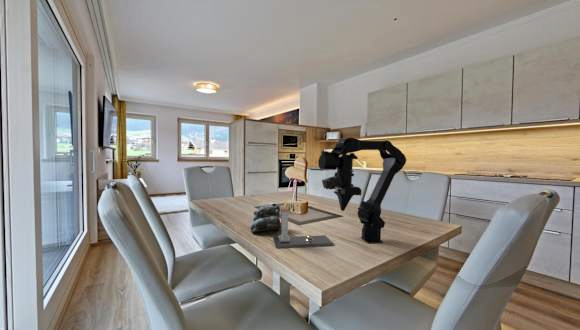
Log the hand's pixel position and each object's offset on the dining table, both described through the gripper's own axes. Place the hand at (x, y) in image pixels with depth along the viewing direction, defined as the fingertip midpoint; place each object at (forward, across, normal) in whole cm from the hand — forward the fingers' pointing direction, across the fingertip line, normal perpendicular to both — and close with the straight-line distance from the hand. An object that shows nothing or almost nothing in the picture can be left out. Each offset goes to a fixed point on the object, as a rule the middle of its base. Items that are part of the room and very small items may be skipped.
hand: (342, 210), depth 91 cm
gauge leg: (+13, -4, -22) cm, 25 cm away
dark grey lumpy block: (+14, -20, -28) cm, 37 cm away
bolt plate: (+14, -4, -14) cm, 20 cm away
